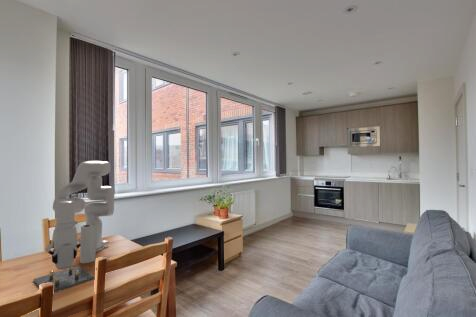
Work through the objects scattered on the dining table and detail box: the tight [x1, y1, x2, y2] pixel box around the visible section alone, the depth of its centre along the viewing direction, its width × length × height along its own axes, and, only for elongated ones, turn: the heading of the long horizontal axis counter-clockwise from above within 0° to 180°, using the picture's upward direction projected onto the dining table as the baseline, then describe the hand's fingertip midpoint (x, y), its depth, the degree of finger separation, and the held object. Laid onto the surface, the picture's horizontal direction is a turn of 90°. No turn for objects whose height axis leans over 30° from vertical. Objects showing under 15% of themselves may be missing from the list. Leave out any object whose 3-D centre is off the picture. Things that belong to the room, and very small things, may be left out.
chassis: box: [33, 264, 95, 293], centre depth 125 cm, size 20×20×4 cm
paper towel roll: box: [79, 224, 97, 264], centre depth 146 cm, size 7×6×21 cm
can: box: [54, 243, 75, 270], centre depth 125 cm, size 8×8×12 cm
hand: (64, 260), depth 125 cm, fingers closed on can, 7 cm apart
